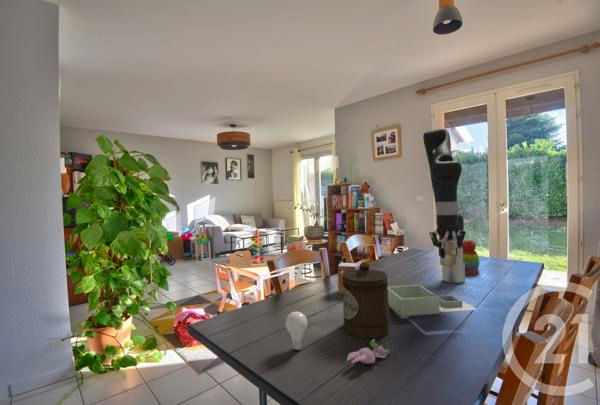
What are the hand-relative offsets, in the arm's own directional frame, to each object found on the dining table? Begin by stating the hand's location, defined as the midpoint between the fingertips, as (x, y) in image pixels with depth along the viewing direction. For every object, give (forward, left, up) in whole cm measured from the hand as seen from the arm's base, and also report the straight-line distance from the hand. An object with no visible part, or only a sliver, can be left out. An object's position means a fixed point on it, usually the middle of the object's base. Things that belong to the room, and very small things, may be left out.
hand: (447, 257), depth 114 cm
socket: (0, 0, -19) cm, 19 cm away
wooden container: (+37, +13, -20) cm, 44 cm away
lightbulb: (+61, +23, -19) cm, 68 cm away
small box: (+34, -22, -19) cm, 45 cm away
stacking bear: (-38, -42, -19) cm, 60 cm away
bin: (+16, +1, -19) cm, 25 cm away
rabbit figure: (+43, +32, -20) cm, 57 cm away
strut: (0, 0, -3) cm, 3 cm away
